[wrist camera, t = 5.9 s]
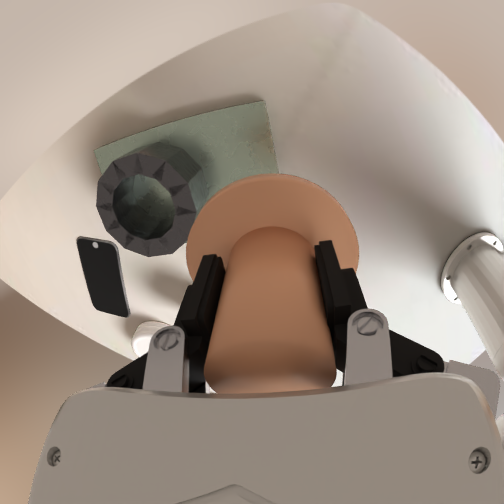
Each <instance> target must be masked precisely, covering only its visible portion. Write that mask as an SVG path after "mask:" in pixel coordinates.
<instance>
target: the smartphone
mask: <svg viewBox="0 0 504 504" xmlns="http://www.w3.org/2000/svg"><path fill="white" fill-rule="evenodd" d="M77 246H78V251H79V255H80V259H81V263H82V267H83V271H84V275H85V279H86V283H87V287H88V290H89V293H90V297H91V300H92V303H93V306H94V307H95V308H96V309H97V310H99V311H102V312H106V313H110V314H113V315H117V316H121V317H129V316H130V309H129V305H128V300H127V295H126V291H125V286H124V280H123V275H122V270H121V264H120V258H119V252H118V248H117V246H116V245H115V244H114V243H113V242H111V241H105V240H99V239H93V238H88V237H79V238H78V239H77Z"/></svg>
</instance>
